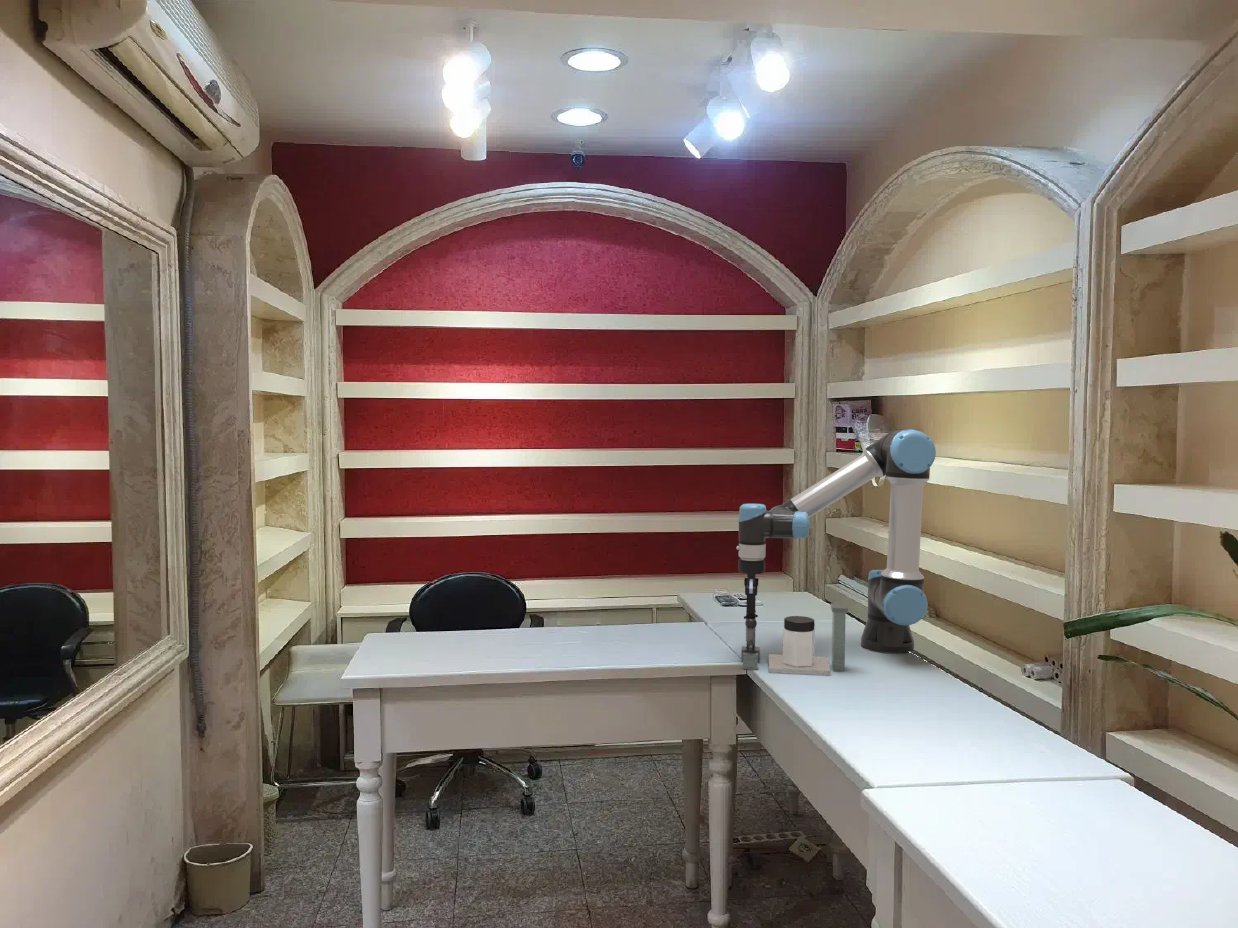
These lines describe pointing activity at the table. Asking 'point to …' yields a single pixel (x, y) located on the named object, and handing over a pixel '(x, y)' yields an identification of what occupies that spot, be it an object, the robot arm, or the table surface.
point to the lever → (750, 638)
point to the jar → (798, 641)
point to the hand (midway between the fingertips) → (750, 640)
